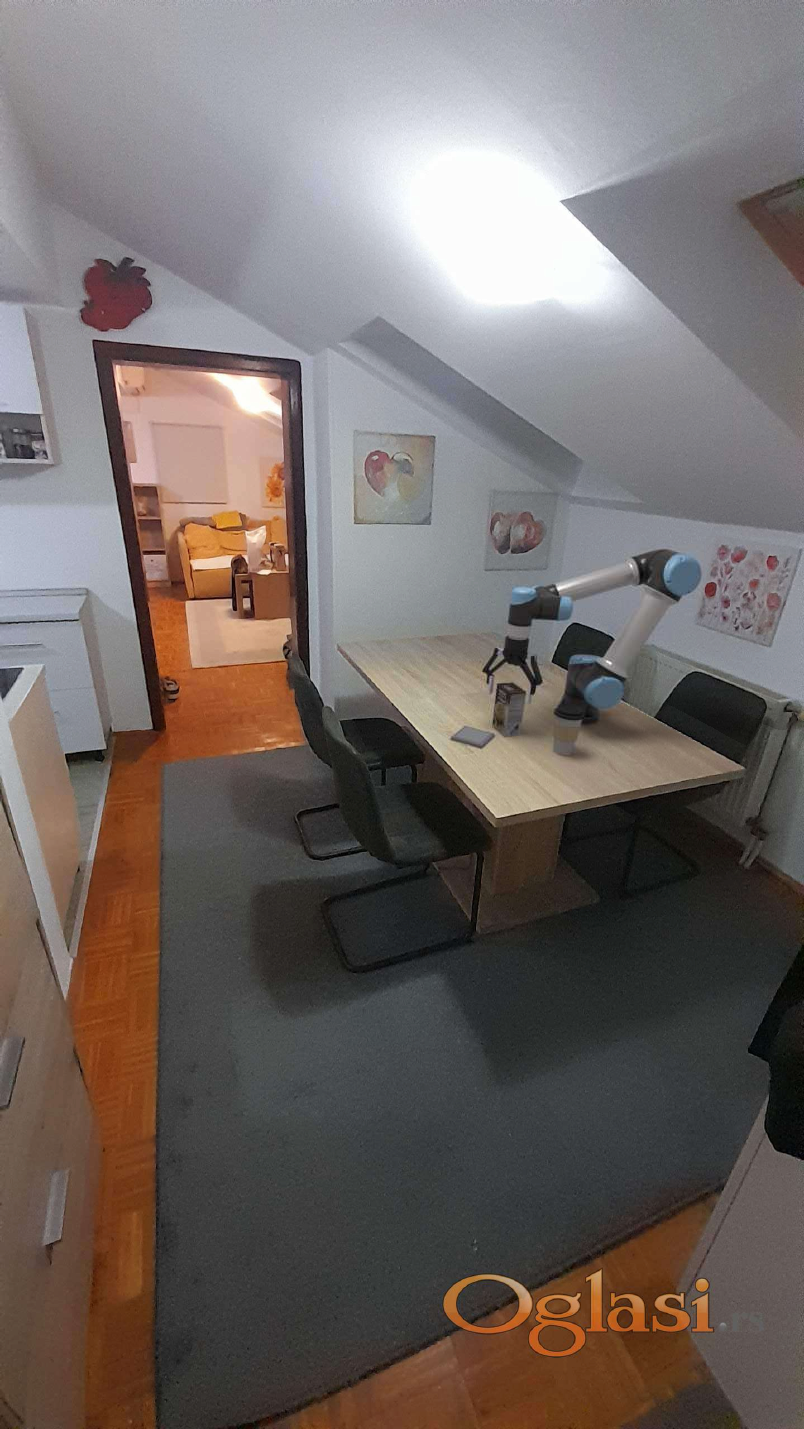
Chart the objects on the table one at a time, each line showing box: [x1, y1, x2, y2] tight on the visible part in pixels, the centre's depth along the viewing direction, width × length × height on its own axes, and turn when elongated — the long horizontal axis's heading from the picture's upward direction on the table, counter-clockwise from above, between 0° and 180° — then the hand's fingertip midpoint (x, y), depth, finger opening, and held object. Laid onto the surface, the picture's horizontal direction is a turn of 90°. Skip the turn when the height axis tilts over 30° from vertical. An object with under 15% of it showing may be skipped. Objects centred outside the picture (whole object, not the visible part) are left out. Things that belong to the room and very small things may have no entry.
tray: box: [450, 725, 495, 749], centre depth 194 cm, size 11×11×1 cm
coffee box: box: [491, 681, 527, 738], centre depth 198 cm, size 9×6×16 cm
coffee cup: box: [552, 704, 585, 756], centre depth 185 cm, size 9×9×15 cm
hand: (508, 698), depth 196 cm, fingers open, 13 cm apart
